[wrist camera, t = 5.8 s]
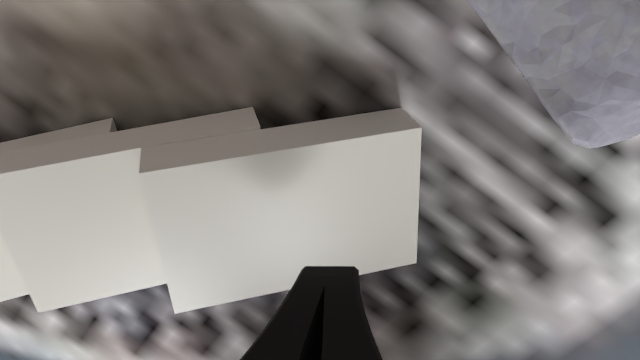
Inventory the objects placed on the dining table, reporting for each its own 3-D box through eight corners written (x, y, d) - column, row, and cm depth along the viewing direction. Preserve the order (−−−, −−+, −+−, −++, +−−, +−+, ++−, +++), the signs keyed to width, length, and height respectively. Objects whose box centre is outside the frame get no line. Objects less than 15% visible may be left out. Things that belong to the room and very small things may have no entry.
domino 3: (416, 263, 18) (174, 313, 17) (399, 236, 20) (173, 281, 18) (421, 127, 16) (138, 173, 14) (401, 107, 17) (140, 147, 16)
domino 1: (154, 260, 20) (-83, 323, 18) (155, 237, 21) (-66, 294, 20) (108, 135, 17) (-168, 198, 16) (113, 117, 19) (-142, 174, 17)
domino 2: (281, 257, 19) (38, 313, 18) (273, 232, 20) (47, 281, 19) (260, 125, 16) (-25, 178, 15) (252, 106, 18) (-10, 153, 17)
